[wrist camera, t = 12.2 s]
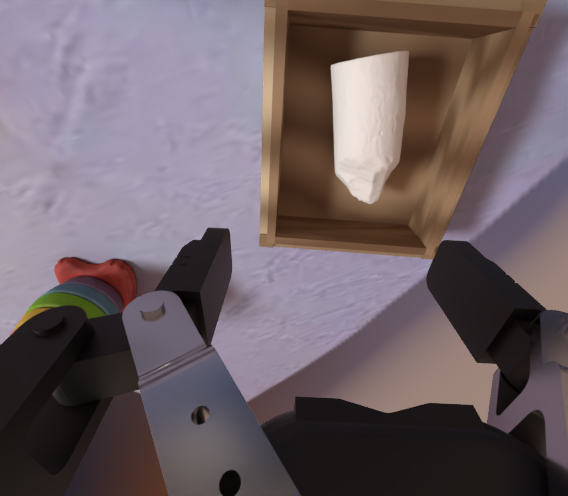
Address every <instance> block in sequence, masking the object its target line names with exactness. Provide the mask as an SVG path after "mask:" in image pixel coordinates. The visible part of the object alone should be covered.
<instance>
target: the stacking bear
mask: <svg viewBox="0 0 568 496" xmlns="http://www.w3.org/2000/svg"><path fill="white" fill-rule="evenodd" d="M54 271H55V275H56V277H57V279H58V281H59V283H60V285H58V286H56V287H54V288H53V289H51V290H49V291H48V292H46V293H45V294H44V295H42V296H41V297H40V298H38V299H37V300H36V301H35V302H34V303H33V304H32V305H31V306H30V308H29V309H28V310H27V312H26V313H25V315H24V316H23V317H22V319H21V320H20V321H19V323H18V324H17V326H16V327H15V329H14V331H13V332H12V333H11V335H12V334H13V333H14V332H15V331H16V330H17V329H18V328H19V327H20V326H21V325H22V324H23V323H24V322H26V321H27V320H28V319H30V318H31V317H33V316H35V315H37V314H39V313H41V312H43V311H45V310H48V309H51V308H55V307H59V306H65V305H73V306H78V307H81V308H82V309H84V311H85V312H86V314H87V316H88V318H89V319H90V318H95V317H101V316H106V315H112V314H117V313H122V312H123V311H124V309H125V308H126V306H127V305H128V304H129V303H130V302H131V301H133V300H134V299H135V297H136V293H137V283H136V278H135V275H134V272H133V270H132V269H131V267H130V266H129V265H127V264H126V263H124V262H123V261H120V260H114V259H111V260H108V261H106V262H104V263H102V264H87V263H84V262H82V261H80V260H77V259H75V258H62V259H60V260H59V261H58V263H57V264H56V265H55V268H54ZM11 335H10V336H11Z"/></svg>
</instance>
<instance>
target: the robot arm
mask: <svg viewBox="0 0 568 496" xmlns="http://www.w3.org/2000/svg"><path fill="white" fill-rule="evenodd" d="M231 273H232V256H231V242H230V232H229V229H226V228H208V229H207V230H206V232H205V234H204V235H203V237H202V239H201V240H192V241H191V242H189V243H188V244H187V245H185V246H184V247H183V248H182V249H181V251H180V252H179V254H178V255H177V258H175V260H174V261H173V263H172V265H171V266H170V268H169V269H168V271H167V272H166V274H165V275H164V277H163V278H162V280H161V282H160V283H159V285H158V286H157V288H156V289H155V291H154V292H149V293H146V294H143V295H141V296H139V297H137V298H136V299H134V300H133V301H131V302H130V303H129V304H128V305H127V306H126V308H125V309H124V311H123V312H122V313H117V314H112V315H106V316H101V317H95V318H90V319H89V318H88V316H87V314H86V312H85V311H84V309H82V308H81V307H78V306H73V305H65V306H59V307H55V308H51V309H48V310H45V311H43V312H41V313H39V314H37V315H35V316H33V317H31V318H30V319H28V320H27V321H26V322H24V323H23V324H22V325H21V326H20V327H19V328H18V329H17V330H16V331H15V332H14V333H13V334H12V335H11V336H10V337H9V338H7V339H6V340H5V341H4V342H3V343H2V344H1V345H0V496H64V495H65V493H66V491H67V489H68V487H69V485H70V483H71V481H72V479H73V477H74V475H75V473H76V471H77V469H78V467H79V465H80V463H81V461H82V459H83V457H84V455H85V453H86V451H87V449H88V447H89V445H90V443H91V441H92V439H93V437H94V435H95V433H96V430H97V429H98V427H99V425H100V423H101V421H102V419H103V417H104V415H105V412H106V411H107V409H108V406H109V405H110V403H111V401H112V399H113V397H114V396H116V395H120V394H123V393H127V392H131V391H135V390H139V389H140V393H141V396H142V400H143V404H144V408H145V411H146V415H147V419H148V422H149V426H150V429H151V433H152V437H153V440H154V444H155V448H156V451H157V455H158V459H159V462H160V466H161V469H162V473H163V476H164V480H165V484H166V488H167V491H168V495H169V496H568V313H565V312H561V311H556V310H546V309H545V308H544V307H543V306H542V305H541V304H540V303H539V302H537V301H536V300H535V299H534V298H533V297H532V296H531V295H530V294H529V293H528V292H526V291H525V290H524V289H523V288H522V287H521V286H520V285H519V284H518V283H515V281H514V280H513V279H512V278H511V277H510V276H509V275H506V273H505V272H504V271H503V270H502V269H501V268H500V267H498V265H496V264H495V263H494V262H492V261H490V260H488V259H487V258H485V257H484V256H483V255H482V254H481V253H480V252H479V251H478V250H477V249H475V248H474V247H473V246H472V245H471V244H470V243H469V242H467V241H453V240H444V241H442V242H441V243H440V245H439V247H438V249H437V252H436V254H435V256H434V259H433V261H432V264H431V266H430V268H429V271H428V273H427V286H428V289H429V290H430V292H431V293H432V295H433V297H434V298H435V300H436V301H437V303H438V304H439V306H440V307H441V309H442V310H443V312H444V313H445V315H446V316H447V318H448V319H449V321H450V322H451V324H452V325H453V327H454V328H455V330H456V331H457V333H458V334H459V336H460V338H461V339H462V341H463V342H464V344H465V345H466V347H467V348H468V350H469V351H470V353H471V354H472V356H473V357H474V359H475V360H476V362H477V363H492V364H497V366H498V369H497V370H496V371H495V373H494V375H493V380H492V388H491V396H490V404H489V412H488V420H487V424H486V423H484V422H482V421H481V419H480V417H479V416H478V414H477V412H476V410H475V408H474V406H473V405H460V404H439V403H428V404H424V405H420V406H416V407H412V408H409V409H404V410H400V411H397V412H393V413H384V412H381V411H377V410H374V409H371V408H368V407H364V406H361V405H358V404H355V403H351V402H348V401H345V400H342V399H334V398H313V397H295V404H294V411H290V412H286V413H283V414H281V415H278V416H276V417H274V418H272V419H270V420H269V421H267V422H265V423H264V424H262V425H261V426H260V425H259V423H258V421H257V420H256V418H255V416H254V414H253V413H252V411H251V409H250V408H249V406H248V404H247V402H246V401H245V399H244V397H243V396H242V394H241V392H240V390H239V389H238V387H237V385H236V384H235V382H234V380H233V378H232V377H231V375H230V373H229V372H228V370H227V368H226V366H225V365H224V363H223V361H222V360H221V358H220V356H219V354H218V353H217V351H216V350H215V348H214V347H213V346H212V345H210V344H211V341H212V338H213V334H214V331H215V328H216V325H217V321H218V318H219V315H220V312H221V308H222V305H223V302H224V298H225V295H226V292H227V289H228V285H229V282H230V279H231Z"/></svg>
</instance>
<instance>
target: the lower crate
mask: <svg viewBox="0 0 568 496" xmlns="http://www.w3.org/2000/svg"><path fill="white" fill-rule="evenodd" d="M379 1H391V2H404V3H417V4H430V5H443V6H455V7H468V8H481V9H494V10H506V11H519V12H532V13H535V15H534V18H533V20H532V22H531V25H530V27H529V29H528V32H527V34H526V36H525V39H524V41H523V44H522V46H521V48H520V51H519V53H518V55H517V58H516V60H515V62H514V65H513V67H512V69H511V72H510V74H509V76H508V79H507V81H506V83H505V86H504V88H503V90H502V93H501V95H500V97H499V100H498V102H497V105H496V107H495V109H494V112H493V114H492V116H491V119H490V121H489V123H488V126H487V128H486V130H485V133H484V135H483V137H482V140H481V142H480V144H479V147H478V149H477V151H476V154H475V156H474V158H473V161H472V163H471V165H470V168H469V170H468V173H467V175H466V177H465V180H464V182H463V184H462V187H461V189H460V191H459V194H458V196H457V198H456V201H455V203H454V205H453V208H452V210H451V212H450V215H449V217H448V219H447V222H446V224H445V226H444V229H443V231H442V234H441V236H440V238H439V241H438V243H437V245H436V248H435V250H434V252H433V255H432V256H429V255H416V254H402V253H389V252H376V251H363V250H350V249H337V248H324V247H311V246H298V245H285V244H271V243H267V226H268V199H269V172H270V146H271V119H272V93H273V66H274V39H275V13H276V0H265V23H264V70H263V117H262V163H261V210H260V246H263V247H273V246H276V247H289V248H302V249H315V250H328V251H342V252H355V253H368V254H381V255H394V256H407V257H420V258H421V259H434V256H435V254H436V252H437V249H438V247H439V245H440V243H441V240H442V238H443V236H444V233H445V231H446V229H447V226H448V224H449V222H450V219H451V217H452V215H453V212H454V210H455V208H456V206H457V203H458V201H459V199H460V196H461V194H462V192H463V189H464V187H465V185H466V182H467V180H468V178H469V176H470V173H471V171H472V169H473V166H474V164H475V162H476V159H477V157H478V155H479V152H480V150H481V148H482V145H483V143H484V141H485V139H486V136H487V134H488V132H489V129H490V127H491V125H492V122H493V120H494V118H495V115H496V113H497V111H498V108H499V106H500V104H501V102H502V99H503V97H504V95H505V92H506V90H507V88H508V85H509V83H510V81H511V78H512V76H513V74H514V72H515V69H516V67H517V65H518V62H519V60H520V58H521V55H522V53H523V51H524V48H525V46H526V44H527V41H528V39H529V37H530V35H531V32H532V30H533V28H535V27H536V25H537V23H538V21H539V18H540V16H541V14H542V12H543V9H544V7H545V5H546V2H547V0H379Z"/></svg>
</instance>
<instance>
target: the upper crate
mask: <svg viewBox="0 0 568 496" xmlns="http://www.w3.org/2000/svg"><path fill="white" fill-rule="evenodd" d="M534 15H535V13H532V12H519V11H506V10H494V9H481V8H468V7H455V6H443V5H430V4H417V3H404V2H391V1H379V0H276V13H275V39H274V66H273V93H272V119H271V146H270V172H269V199H268V226H267V243H271V244H285V245H298V246H311V247H324V248H337V249H350V250H363V251H376V252H389V253H402V254H416V255H429V256H432V255H433V252H434V250H435V248H436V245H437V243H438V241H439V238H440V236H441V234H442V231H443V229H444V226H445V224H446V222H447V219H448V217H449V215H450V212H451V210H452V208H453V205H454V203H455V201H456V198H457V196H458V194H459V191H460V189H461V187H462V184H463V182H464V180H465V177H466V175H467V173H468V170H469V168H470V165H471V163H472V161H473V158H474V156H475V154H476V151H477V149H478V147H479V144H480V142H481V140H482V137H483V135H484V133H485V130H486V128H487V126H488V123H489V121H490V119H491V116H492V114H493V112H494V109H495V107H496V105H497V102H498V100H499V97H500V95H501V93H502V90H503V88H504V86H505V83H506V81H507V79H508V76H509V74H510V72H511V69H512V67H513V65H514V62H515V60H516V58H517V55H518V53H519V51H520V48H521V46H522V44H523V41H524V39H525V36H526V34H527V32H528V29H529V27H530V25H531V22H532V20H533V18H534ZM407 50H408V51H409V64H408V76H407V89H406V113H405V122H404V128H403V136H402V146H401V154H400V160H399V163H398V165H397V166H396V168H395V169H394V170H393V171H392V172H391V174H390V175H389V177H388V179H387V180H386V182H385V185H384V188H383V193H382V195H381V196H380V197H379V199H378V200H377V201H376V202H375V203H372V204H368V203H365V202H363V201H362V200H361V201H359V200H358V198H357V197H354V196H353V195H352V194H351V193H350V191H349V189H348V188H347V186H346V185H345V184H344V183H343V182H342V181H341V180H340V179H339V178H338V177H337V176H336V174H335V164H334V132H333V98H332V81H331V65H332V64H336V63H339V62H344V61H349V60H354V59H357V58H363V57H367V56H373V55H378V54H384V53H391V52H397V51H407Z"/></svg>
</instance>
